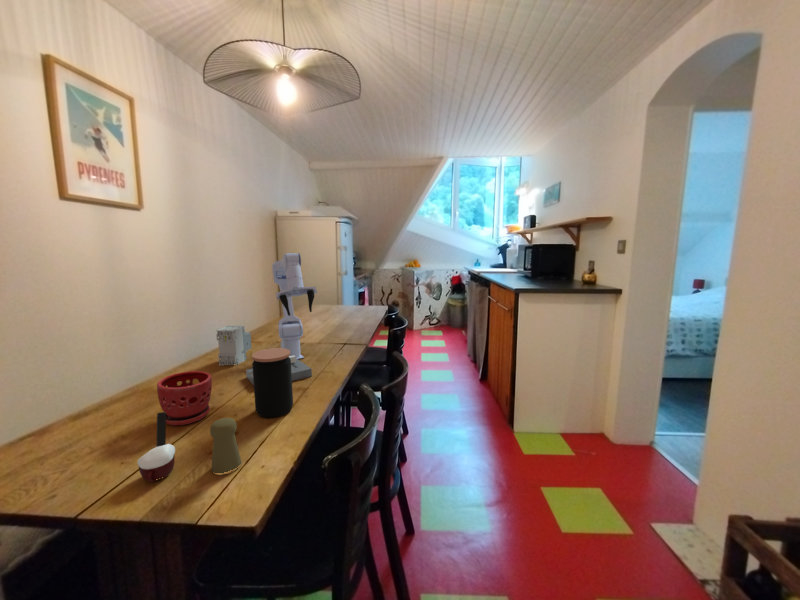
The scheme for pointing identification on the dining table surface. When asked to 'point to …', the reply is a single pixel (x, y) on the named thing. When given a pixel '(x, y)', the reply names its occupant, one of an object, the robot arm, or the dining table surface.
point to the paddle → (293, 359)
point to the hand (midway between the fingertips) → (299, 312)
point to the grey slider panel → (297, 370)
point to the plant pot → (185, 397)
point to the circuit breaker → (233, 344)
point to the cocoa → (158, 455)
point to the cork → (224, 446)
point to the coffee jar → (272, 382)
